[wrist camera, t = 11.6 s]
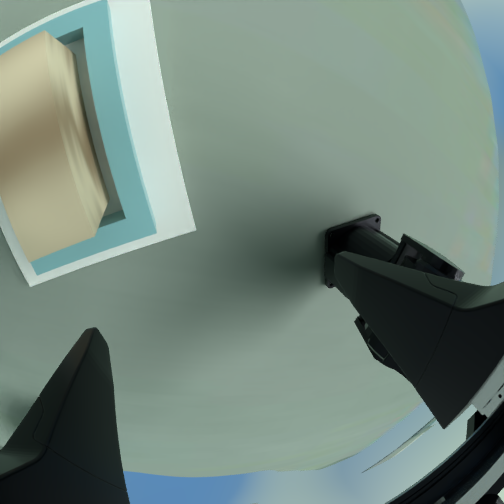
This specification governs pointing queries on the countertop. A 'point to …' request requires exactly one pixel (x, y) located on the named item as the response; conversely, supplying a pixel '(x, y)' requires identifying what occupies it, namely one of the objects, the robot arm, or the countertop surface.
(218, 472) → the countertop surface
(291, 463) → the countertop surface
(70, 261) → the keyed cradle
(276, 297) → the countertop surface
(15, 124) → the key block
